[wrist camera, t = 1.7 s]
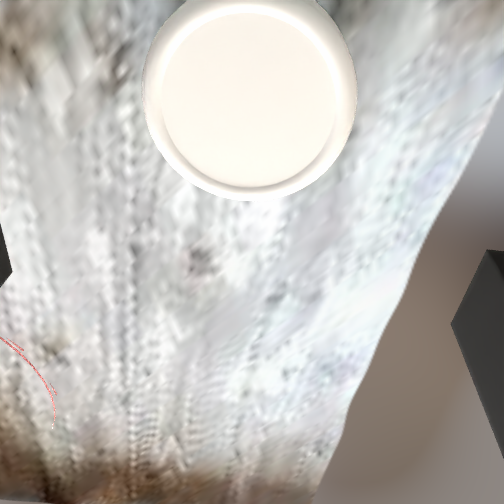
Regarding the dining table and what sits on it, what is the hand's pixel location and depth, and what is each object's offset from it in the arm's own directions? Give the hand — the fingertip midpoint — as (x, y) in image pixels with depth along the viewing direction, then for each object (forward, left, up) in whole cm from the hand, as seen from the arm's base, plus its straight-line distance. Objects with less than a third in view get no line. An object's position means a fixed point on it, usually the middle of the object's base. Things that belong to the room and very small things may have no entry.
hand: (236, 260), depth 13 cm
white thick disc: (-1, 0, -15) cm, 15 cm away
